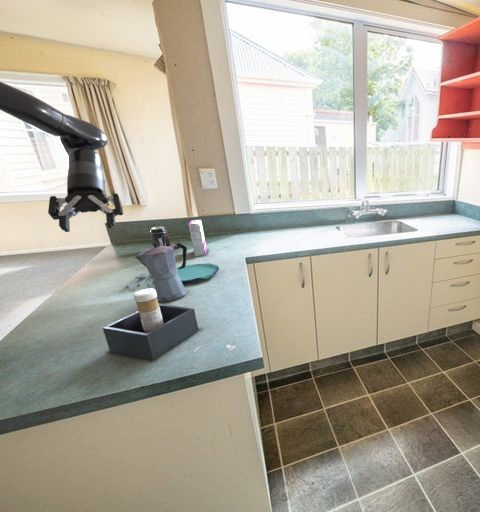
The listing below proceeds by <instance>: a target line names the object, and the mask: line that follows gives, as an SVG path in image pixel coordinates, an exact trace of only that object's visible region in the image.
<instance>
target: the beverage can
mask: <svg viewBox="0 0 480 512" xmlns="http://www.w3.org/2000/svg"><path fill="white" fill-rule="evenodd" d="M150 236H151V240H152V243H154V242H156V243H158V247H161V246H170V245H171V242H170V238H169V233H168V230H167V228H166V227H165V226H154V227H151V230H150Z"/></svg>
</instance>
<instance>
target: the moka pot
mask: <svg viewBox="0 0 480 512" xmlns="http://www.w3.org/2000/svg"><path fill="white" fill-rule="evenodd" d="M151 245H152V246H153V247H151V248H148V249H145V250H142V251H140V253H137V254H136V256H135V257H134V259H135V260H137V261H138V262H140V264H142V265H143V266H144V267H145V268H146V270H147V271H148V273H150V275H151V276H152V277H151V279H153V282H152V283H151V284H153V286H154V287H153V289H155V290H156V293H157V300H158V302H161V303H162V302H171V301H174V300H175V301H176V300H178V299H180V298H182V297H184V296H185V295H186V294H187V290H186V288H185V286H184V284H183V282H182V281H181V279H180V277H179V276H178V274H177V267H178V269H179V270H180V269H183V268H185V265H186V264H187V252H188V247H187V246H185V245H184V244H182V243H181V242H177V243H174V244H170V246H161V247H158V243H156V242H154V243H153V242H152V243H151ZM179 249H182V263H181V266H177V263H176V262H177V261H176V256H175V251H177V250H179Z"/></svg>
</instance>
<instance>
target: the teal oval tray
mask: <svg viewBox="0 0 480 512" xmlns="http://www.w3.org/2000/svg"><path fill="white" fill-rule="evenodd" d="M178 267H179V266H176V268H177V274H178V276H179V277H180V279H181V281H182V283H187V282H194V281H198V280H203V279H204V280H207V279H209V278H212V277H213V276H214V275H215V274H217V272H218V271H219V270H220V266H218V264H215V263H210V262H208V263H197V264H187V265H185V268H183V269H180V270H179V269H178ZM143 277H144V279H142V278H143ZM150 278H151V281H150V282H149V283H148V284H147V285H146V286H147V287H150V286H151V284H153V283H152V282H153V278H152V276H151V275H150V273H149V272H148V273H140V274H139V275H138V276H137V275H136V276H135V277H134V279H133V280H132V281H131V282H130V283H128V284H127V285H126V286H125V288H126V289H130V287H131V286H132V285H134V284H135V283H136V282H137V281H139V280H141V279H142V280H141V281H139V282H138V283H137V284H136V286H137V287H141V285H143V284H144V283H145V281H147V280H148V279H150Z"/></svg>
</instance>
